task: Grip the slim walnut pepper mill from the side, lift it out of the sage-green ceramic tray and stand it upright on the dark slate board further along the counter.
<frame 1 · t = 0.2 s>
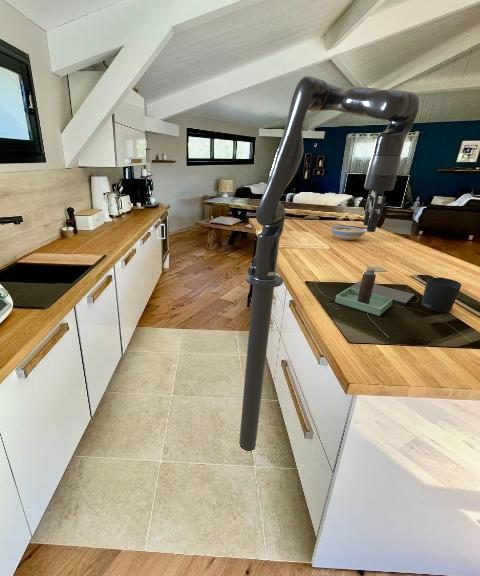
hand: (368, 228, 96), 29 cm above the table, tool pointing down, fingers open, 8 cm apart
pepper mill: (363, 302, 114), point 1 cm above the table, touching tray
tray: (362, 303, 114), on the table
pen holder: (435, 308, 112), on the table
ramen bowl: (346, 239, 211), on the table
slate board: (380, 293, 124), on the table
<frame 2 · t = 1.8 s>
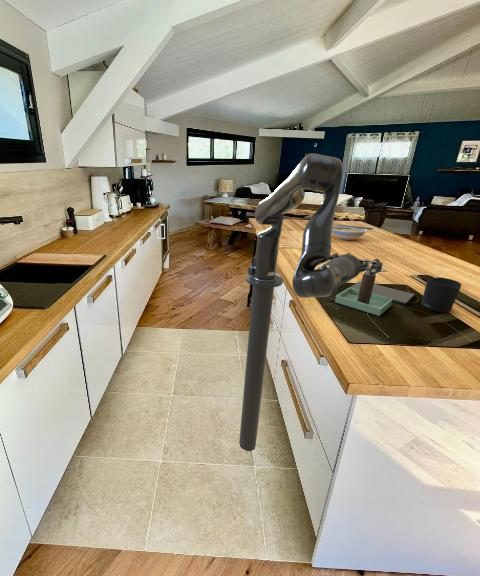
hand: (362, 259, 100), 19 cm above the table, tool horizontal, fingers open, 8 cm apart
nothing on the table moved.
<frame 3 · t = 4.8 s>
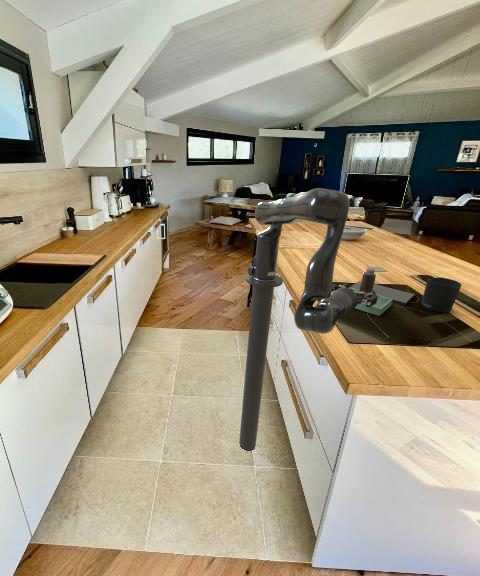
hand: (359, 289, 107), 8 cm above the table, tool horizontal, fingers open, 8 cm apart
nothing on the table moved.
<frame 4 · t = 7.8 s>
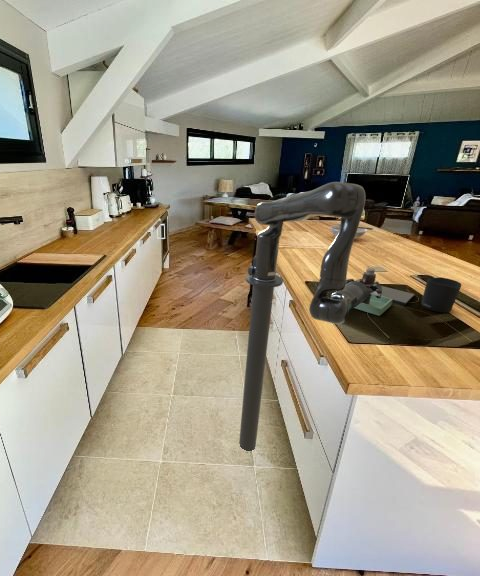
hand: (369, 282, 113), 8 cm above the table, tool horizontal, fingers closed on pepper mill, 4 cm apart
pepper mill: (363, 302, 114), point 1 cm above the table, touching gripper, tray
everything else where it was.
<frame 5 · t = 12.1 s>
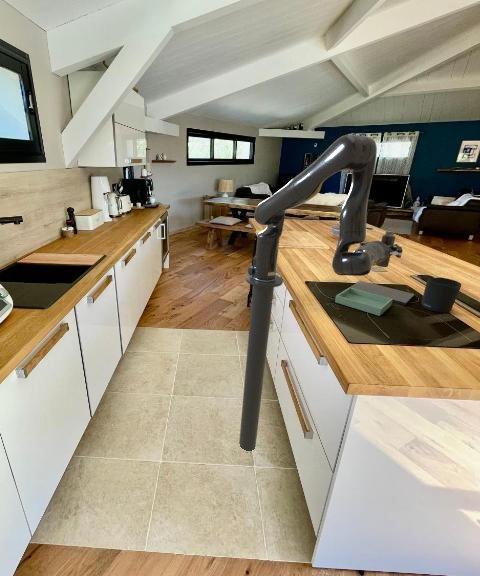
hand: (388, 245, 114), 20 cm above the table, tool horizontal, fingers closed on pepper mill, 4 cm apart
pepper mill: (381, 265, 115), point 13 cm above the table, touching gripper
everything else where it was.
when the fingers open (8 cm above the table, at t = 16.6 s): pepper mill stays where it is, resting on slate board.
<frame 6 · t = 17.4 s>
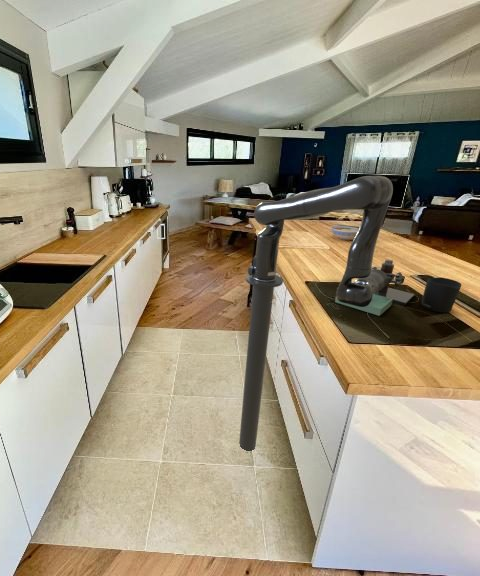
hand: (387, 272, 122), 8 cm above the table, tool horizontal, fingers open, 8 cm apart
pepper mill: (381, 290, 123), point 1 cm above the table, touching slate board
everything else where it was.
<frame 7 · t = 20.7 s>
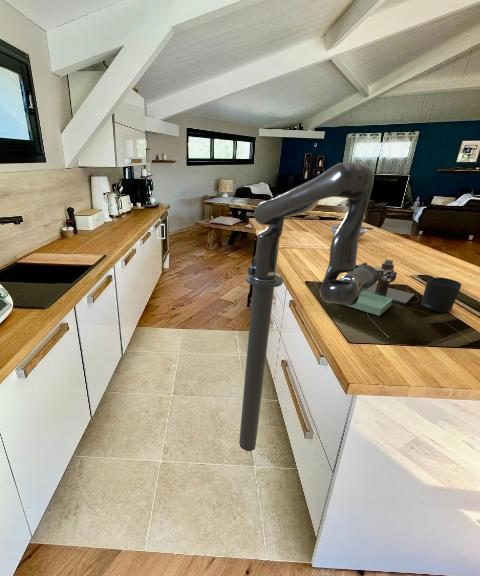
hand: (378, 268, 112), 13 cm above the table, tool horizontal, fingers open, 8 cm apart
nothing on the table moved.
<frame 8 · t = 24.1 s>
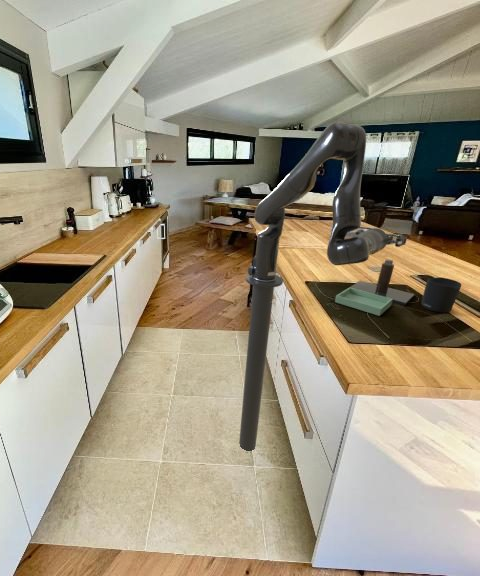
hand: (386, 234, 107), 25 cm above the table, tool horizontal, fingers open, 8 cm apart
nothing on the table moved.
at the end: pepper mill inside the target area on the slate board (0.1 cm from its centre), point 1.0 cm above the slate board's base; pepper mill tilted 0°; the gripper is holding nothing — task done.
